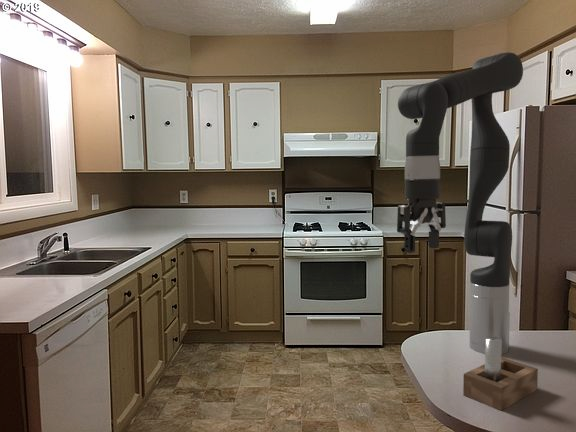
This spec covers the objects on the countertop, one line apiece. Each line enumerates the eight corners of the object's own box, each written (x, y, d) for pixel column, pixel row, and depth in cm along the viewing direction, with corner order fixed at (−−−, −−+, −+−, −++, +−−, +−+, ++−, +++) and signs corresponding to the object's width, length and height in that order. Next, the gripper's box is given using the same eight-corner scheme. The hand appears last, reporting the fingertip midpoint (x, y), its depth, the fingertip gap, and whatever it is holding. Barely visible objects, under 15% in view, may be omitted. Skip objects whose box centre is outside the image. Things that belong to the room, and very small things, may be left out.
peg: (489, 391, 94) (490, 335, 93) (503, 397, 92) (504, 339, 91) (481, 396, 92) (482, 338, 92) (495, 401, 90) (496, 342, 89)
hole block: (500, 376, 101) (500, 356, 101) (537, 389, 95) (537, 368, 94) (463, 395, 93) (463, 373, 93) (501, 410, 87) (501, 387, 86)
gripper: (427, 176, 108) (427, 244, 109) (387, 178, 99) (387, 251, 101) (456, 176, 102) (455, 248, 103) (416, 177, 93) (415, 256, 95)
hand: (422, 250), depth 102 cm, fingers open, 8 cm apart
